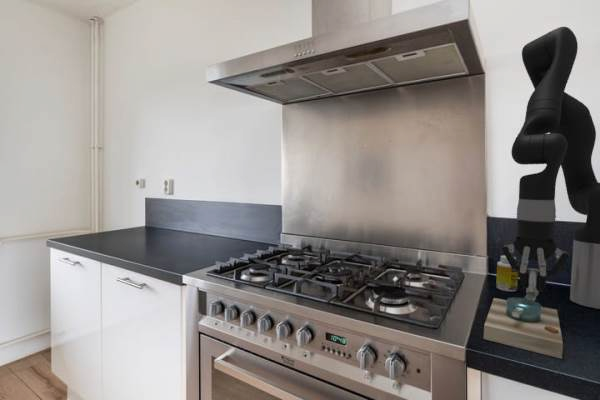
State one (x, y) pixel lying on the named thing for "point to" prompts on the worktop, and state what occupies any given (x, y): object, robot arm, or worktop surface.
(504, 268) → the supplement bottle
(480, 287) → the worktop surface
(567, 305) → the worktop surface
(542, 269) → the robot arm
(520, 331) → the stand
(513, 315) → the teal knob with stem
